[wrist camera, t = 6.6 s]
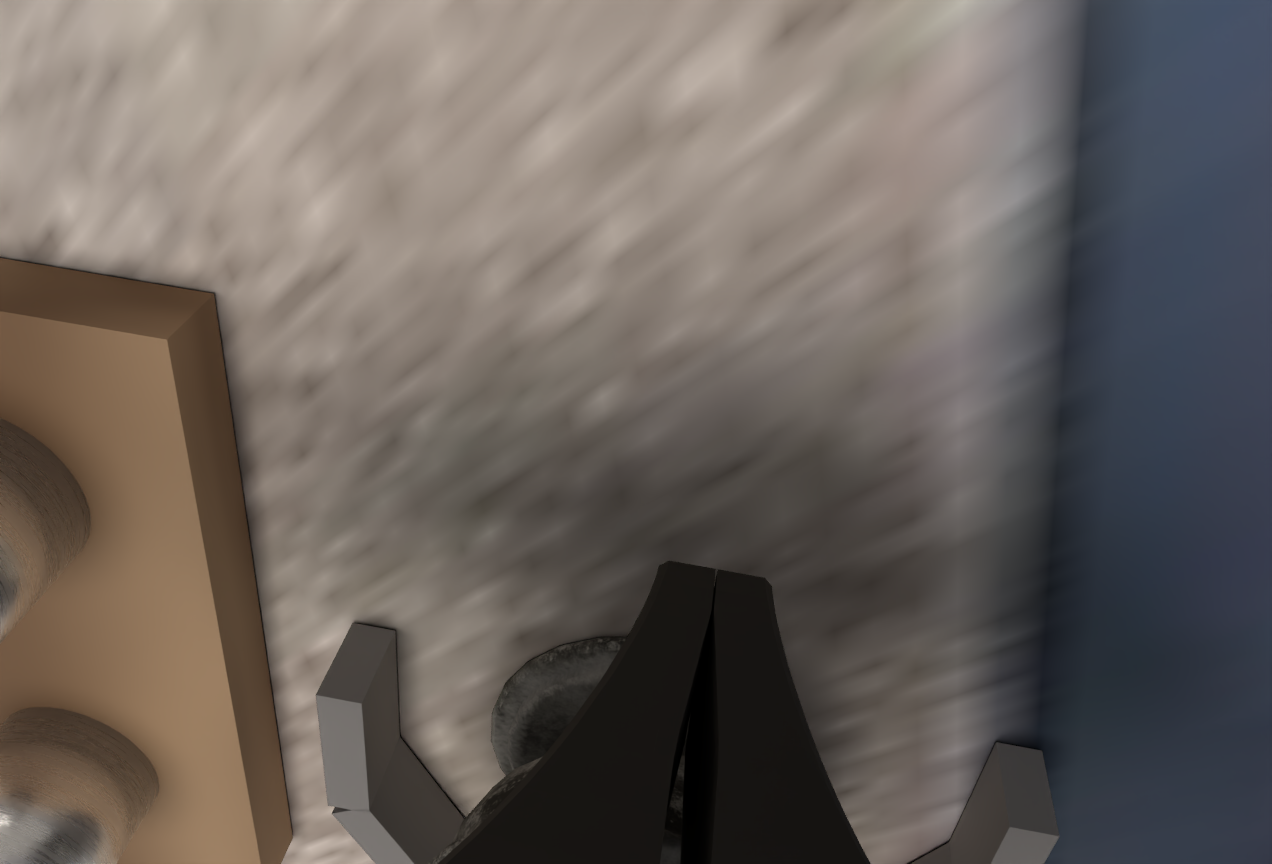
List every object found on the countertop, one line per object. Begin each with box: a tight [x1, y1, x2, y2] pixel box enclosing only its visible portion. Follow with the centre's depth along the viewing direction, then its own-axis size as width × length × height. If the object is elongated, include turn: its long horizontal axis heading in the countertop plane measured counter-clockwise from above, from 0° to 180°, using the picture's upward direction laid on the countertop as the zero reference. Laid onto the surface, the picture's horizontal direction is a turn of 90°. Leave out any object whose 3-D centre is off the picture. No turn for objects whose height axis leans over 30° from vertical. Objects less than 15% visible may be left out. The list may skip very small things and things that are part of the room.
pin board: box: [0, 258, 293, 864], centre depth 16 cm, size 6×12×4 cm, turn 174°
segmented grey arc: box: [316, 623, 1059, 864], centre depth 18 cm, size 11×7×2 cm, turn 84°
